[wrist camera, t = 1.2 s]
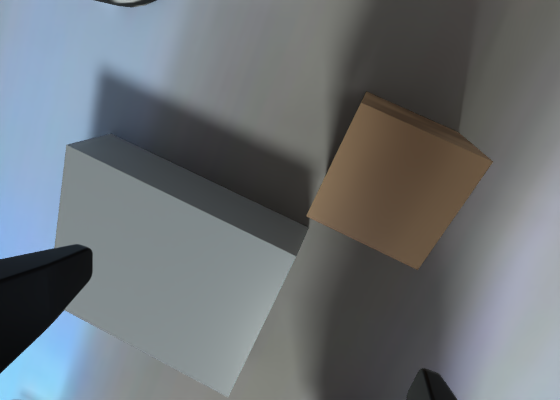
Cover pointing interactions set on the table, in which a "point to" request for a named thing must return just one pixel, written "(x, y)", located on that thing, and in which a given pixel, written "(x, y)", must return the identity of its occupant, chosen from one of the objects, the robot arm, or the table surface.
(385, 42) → the table surface
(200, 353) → the slate box
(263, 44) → the table surface
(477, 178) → the walnut block
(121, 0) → the white-spotted black cylinder
